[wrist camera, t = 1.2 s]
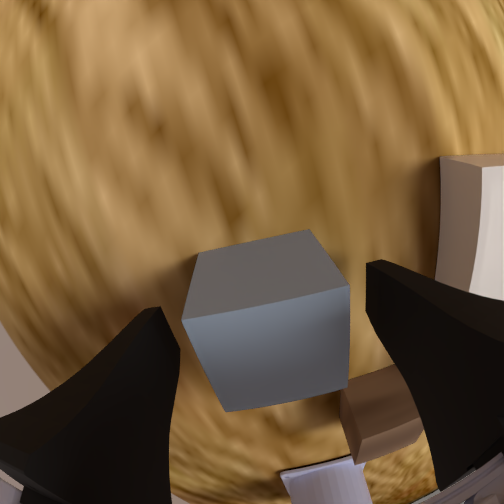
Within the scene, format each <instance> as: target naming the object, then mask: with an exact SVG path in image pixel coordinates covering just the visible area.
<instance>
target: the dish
mask: <svg viewBox="0 0 504 504" xmlns="http://www.w3.org/2000/svg"><path fill="white" fill-rule="evenodd" d="M440 177H441V212H440V234H439V247H438V257H437V266H436V274H435V280H436V281H438V282H441V283H443V284H446V285H449V286H452V287H454V288H457V289H460V290H463V291H466V292H470V293H474V294H477V295H481V296H484V297H489V298H493V299H498V300H504V154H478V155H457V156H441V157H440Z"/></svg>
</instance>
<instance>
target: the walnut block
mask: <svg viewBox="0 0 504 504" xmlns="http://www.w3.org/2000/svg"><path fill="white" fill-rule="evenodd" d="M339 418H340V421H341V424H342V427H343V430H344V433H345V436H346V439H347V443H348V446H349V449H350V452H351V455H352V459H353V462H354V465H358V464H361V463H364V462H367V461H370V460H373V459H376V458H379V457H381V456H384V455H387V454H389V453H392V452H394V451H397V450H399V449H401V448H404V447H406V446H408V445H411V444H413V443H415V442H416V441H417V439H418V438H419V436H420V434H421V433H422V431H423V429H424V427H423V424H422V421H421V418H420V415H419V413H418V410H417V407H416V405H415V402H414V400H413V397H412V395H411V393H410V390H409V388H408V386H407V384H406V382H405V380H404V378H403V376H402V375H401V373H400V371H399V370H398V368H397V366H396V365H395V364H394V365H392V366H389V367H386V368H383V369H380V370H377V371H374V372H371V373H368V374H365V375H362V376H359V377H356V378H352V379H349V380H348V388H344V389H341V394H340V411H339Z"/></svg>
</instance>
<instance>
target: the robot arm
mask: <svg viewBox="0 0 504 504" xmlns="http://www.w3.org/2000/svg"><path fill="white" fill-rule="evenodd" d="M365 311H366V313H367V315H368V317H369V320H370V322H371V324H372V326H373V328H374V330H375V332H376V334H377V336H378V337H379V339H380V341H381V342H382V344H383V345H384V347H385V349H386V350H387V352H388V354H389V355H390V357H391V358H392V360H393V362H394V363H395V365H396V366H397V368H398V370H399V371H400V373H401V375H402V376H403V378H404V380H405V382H406V384H407V386H408V388H409V390H410V393H411V395H412V397H413V400H414V402H415V405H416V407H417V410H418V413H419V415H420V418H421V421H422V424H423V427H424V430H425V433H426V437H427V440H428V444H429V447H430V451H431V456H432V460H433V465H434V470H435V477H436V483H437V485H438V488H439V490H440V491H443V490H444V491H443V492H441V493H439V494H437V495H435V496H433V497H431V498H430V499H428V500H426V501H424V502H422V503H419V504H460V503H462V502H464V501H465V500H466V501H465V502H464V504H504V300H498V299H493V298H489V297H484V296H481V295H477V294H474V293H470V292H466V291H463V290H460V289H457V288H454V287H452V286H449V285H446V284H443V283H441V282H438V281H436V280H433V279H431V278H428V277H426V276H423V275H421V274H418V273H416V272H414V271H411V270H409V269H406V268H404V267H402V266H399V265H397V264H394V263H391V262H389V261H386V260H382V259H381V260H377V261H373V262H369V263H366V310H365ZM179 369H180V347H179V345H178V343H177V341H176V339H175V337H174V335H173V333H172V331H171V328H170V326H169V324H168V322H167V320H166V318H165V315H164V313H163V311H162V309H161V306H159V307H153V308H147V309H144V310H143V311H142V312H141V313H140V314H138V315H137V316H136V317H135V318H134V319H133V320H132V321H131V322H130V323H129V324H128V325H127V326H126V327H125V328H124V329H123V330H122V331H121V332H120V333H119V334H118V335H117V336H116V337H115V338H114V339H113V340H112V341H111V342H110V343H109V344H108V345H107V346H106V347H105V348H104V349H103V350H102V351H101V352H99V353H98V354H97V355H96V356H95V357H94V358H93V359H92V360H91V361H90V362H89V363H88V364H87V365H86V366H84V367H83V368H82V369H81V370H80V371H78V372H77V373H76V374H75V375H73V376H72V377H71V378H70V379H68V380H67V381H66V382H64V383H63V384H61V385H60V386H59V387H57V388H56V389H54V390H53V391H51V392H50V393H48V394H47V395H45V396H44V397H42V398H40V399H39V400H37V401H35V402H33V403H32V404H30V405H28V406H26V407H24V408H22V409H20V410H18V411H16V412H13V413H11V414H9V415H6V416H3V417H1V418H0V469H1V470H2V471H4V472H5V473H6V474H8V475H9V476H10V477H12V478H13V479H14V480H16V481H17V482H19V483H20V484H22V485H23V486H24V488H23V491H21V490H19V489H17V488H16V487H14V486H13V485H11V484H9V483H8V482H6V481H4V480H3V479H1V478H0V504H172V500H171V490H170V478H169V433H170V424H171V418H172V412H173V406H174V400H175V395H176V389H177V383H178V378H179ZM365 463H366V462H364V463H361V464H358V465H354V462H353V459H352V455H351V456H348V457H344V458H341V459H337V460H334V461H330V462H326V463H322V464H318V465H313V466H309V467H304V468H299V469H294V470H288V471H283V472H281V473H280V477H281V479H282V481H283V483H284V485H285V487H286V489H287V491H288V493H289V495H290V496H291V503H292V504H372V501H371V497H370V494H369V491H368V487H367V484H366V481H365V477H364V474H363V468H364V466H365ZM475 470H476V471H475ZM474 471H475V472H474ZM472 472H473V473H472ZM471 473H472V474H471ZM469 474H470V475H469ZM468 475H469V476H468ZM466 476H467V477H466ZM465 477H466V478H465ZM463 478H464V479H463ZM461 479H463V480H461ZM460 480H461V481H460ZM458 481H460V482H458ZM456 482H458V483H456ZM455 483H456V484H455ZM453 484H455V485H453ZM452 485H453V486H452ZM450 486H451V487H450ZM448 487H450V488H448ZM447 488H448V489H447ZM445 489H446V490H445Z"/></svg>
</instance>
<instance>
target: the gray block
mask: <svg viewBox="0 0 504 504" xmlns="http://www.w3.org/2000/svg"><path fill="white" fill-rule="evenodd" d="M181 321H182V323H183V326H184V328H185V330H186V332H187V335H188V337H189V339H190V341H191V344H192V346H193V348H194V350H195V352H196V355H197V357H198V359H199V361H200V363H201V365H202V367H203V369H204V371H205V373H206V375H207V377H208V379H209V381H210V383H211V385H212V387H213V389H214V391H215V393H216V395H217V397H218V399H219V401H220V403H221V405H222V407H223V409H224V410H225V412H231V411H239V410H247V409H253V408H260V407H266V406H271V405H277V404H282V403H287V402H292V401H297V400H301V399H306V398H310V397H314V396H318V395H322V394H326V393H330V392H334V391H337V390H341V389H344V388H348V372H349V348H350V285H349V284H348V282H347V281H346V279H345V278H344V276H343V275H342V274H341V272H340V271H339V269H338V268H337V266H336V265H335V264H334V262H333V261H332V259H331V258H330V257H329V255H328V254H327V253H326V251H325V250H324V248H323V247H322V246H321V244H320V243H319V242H318V240H317V239H316V238H315V236H314V235H313V233H312V232H311V231H310V229H308V230H303V231H299V232H294V233H289V234H284V235H279V236H275V237H270V238H265V239H260V240H256V241H251V242H246V243H242V244H237V245H232V246H228V247H223V248H218V249H214V250H209V251H205V252H200V253H199V254H198V258H197V261H196V265H195V269H194V272H193V276H192V280H191V283H190V287H189V291H188V295H187V299H186V303H185V307H184V311H183V315H182V319H181Z"/></svg>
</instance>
